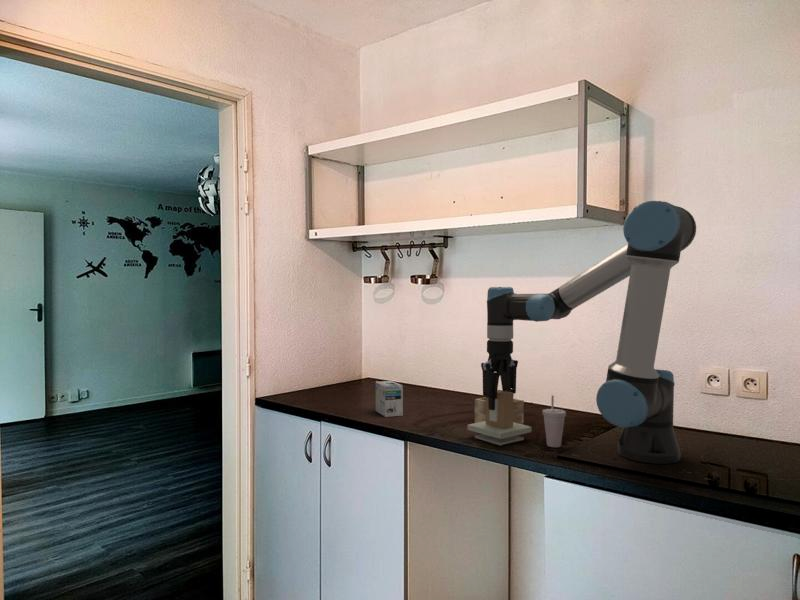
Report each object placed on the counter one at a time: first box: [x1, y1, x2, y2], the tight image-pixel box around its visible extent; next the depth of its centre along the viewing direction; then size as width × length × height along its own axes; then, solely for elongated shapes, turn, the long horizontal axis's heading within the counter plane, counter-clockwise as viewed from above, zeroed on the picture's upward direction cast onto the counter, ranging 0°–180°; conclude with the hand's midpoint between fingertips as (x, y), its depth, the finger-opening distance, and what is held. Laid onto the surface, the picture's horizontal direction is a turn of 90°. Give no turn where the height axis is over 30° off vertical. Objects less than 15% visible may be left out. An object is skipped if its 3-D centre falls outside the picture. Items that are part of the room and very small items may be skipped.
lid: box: [467, 389, 532, 439], centre depth 165 cm, size 13×13×12 cm
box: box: [474, 396, 525, 425], centre depth 182 cm, size 11×11×8 cm
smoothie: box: [541, 395, 567, 448], centre depth 158 cm, size 6×6×14 cm
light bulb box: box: [375, 380, 404, 418], centre depth 197 cm, size 11×7×11 cm, turn 22°
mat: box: [474, 433, 525, 446], centre depth 165 cm, size 10×10×1 cm
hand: (499, 419), depth 165 cm, fingers open, 4 cm apart
